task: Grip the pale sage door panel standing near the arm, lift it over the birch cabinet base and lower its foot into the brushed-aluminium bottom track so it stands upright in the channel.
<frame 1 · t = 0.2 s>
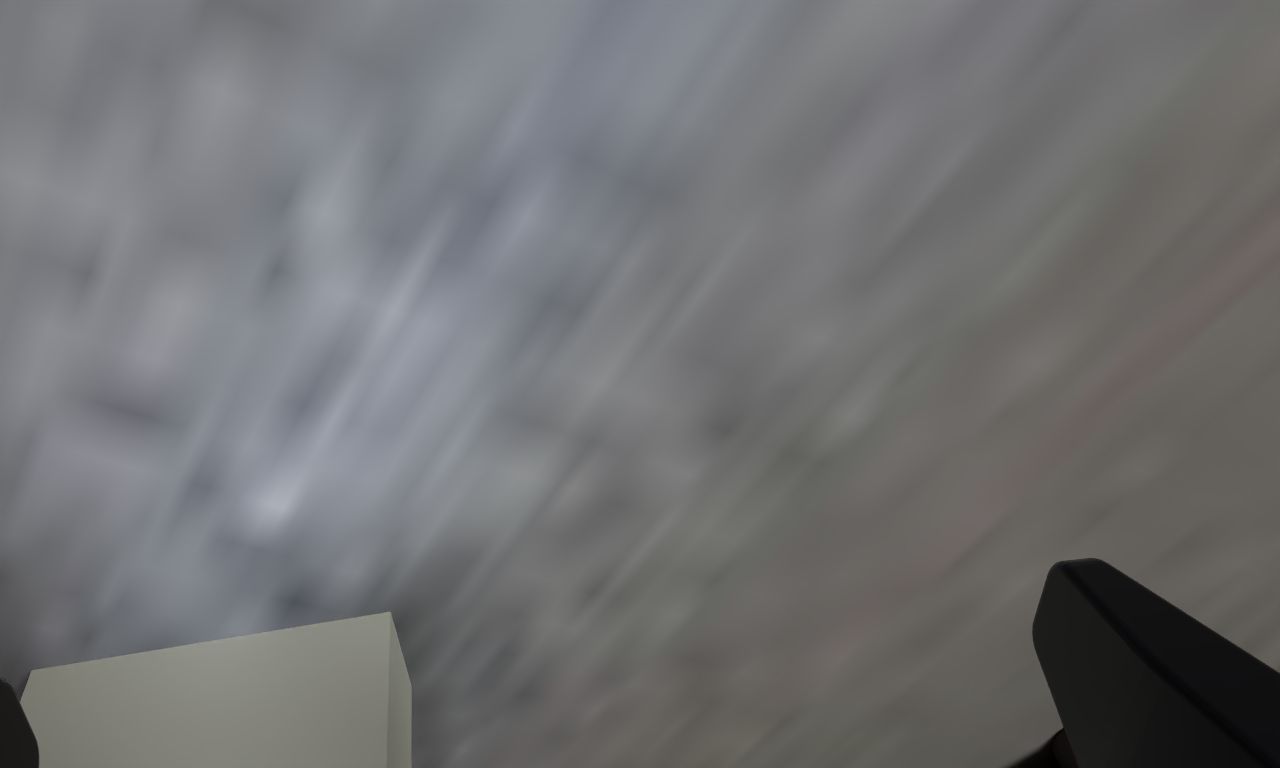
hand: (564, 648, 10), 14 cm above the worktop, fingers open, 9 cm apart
door panel: (230, 677, 29), on the worktop
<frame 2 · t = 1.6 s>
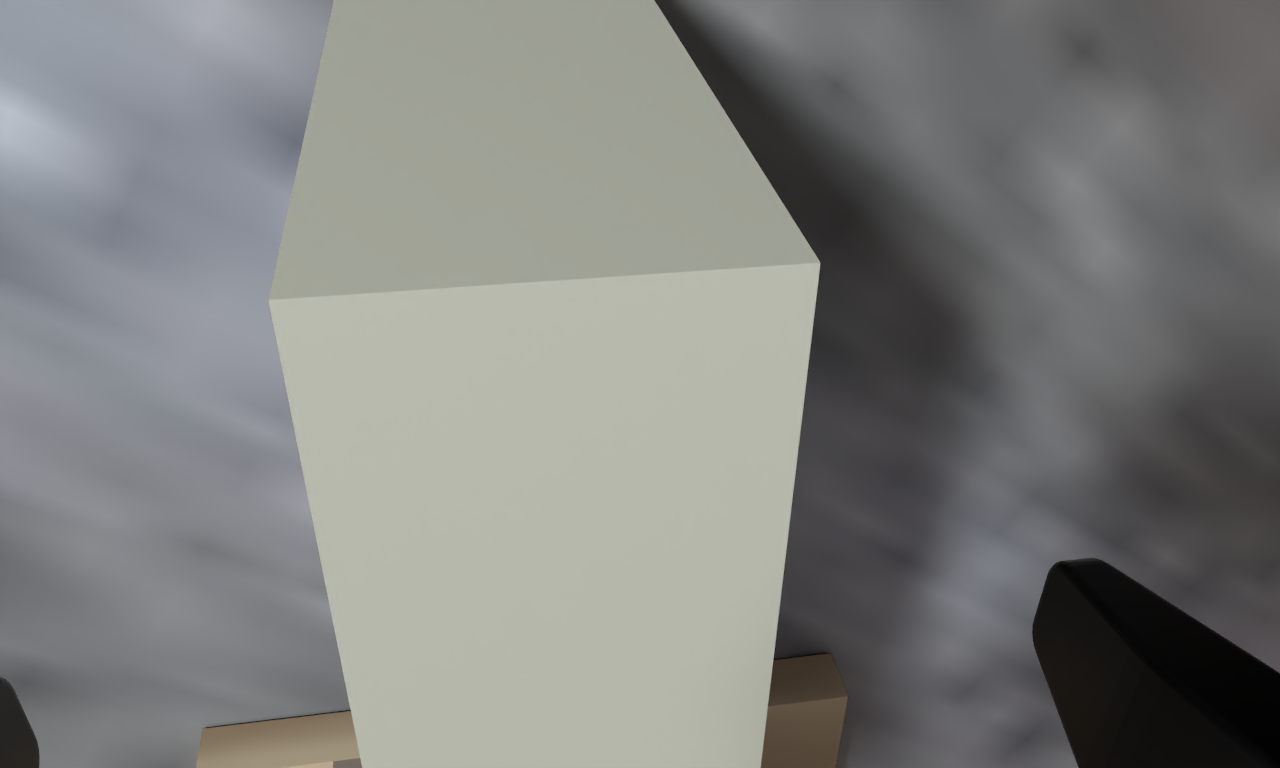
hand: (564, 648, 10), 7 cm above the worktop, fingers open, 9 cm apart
door panel: (504, 288, 15), on the worktop
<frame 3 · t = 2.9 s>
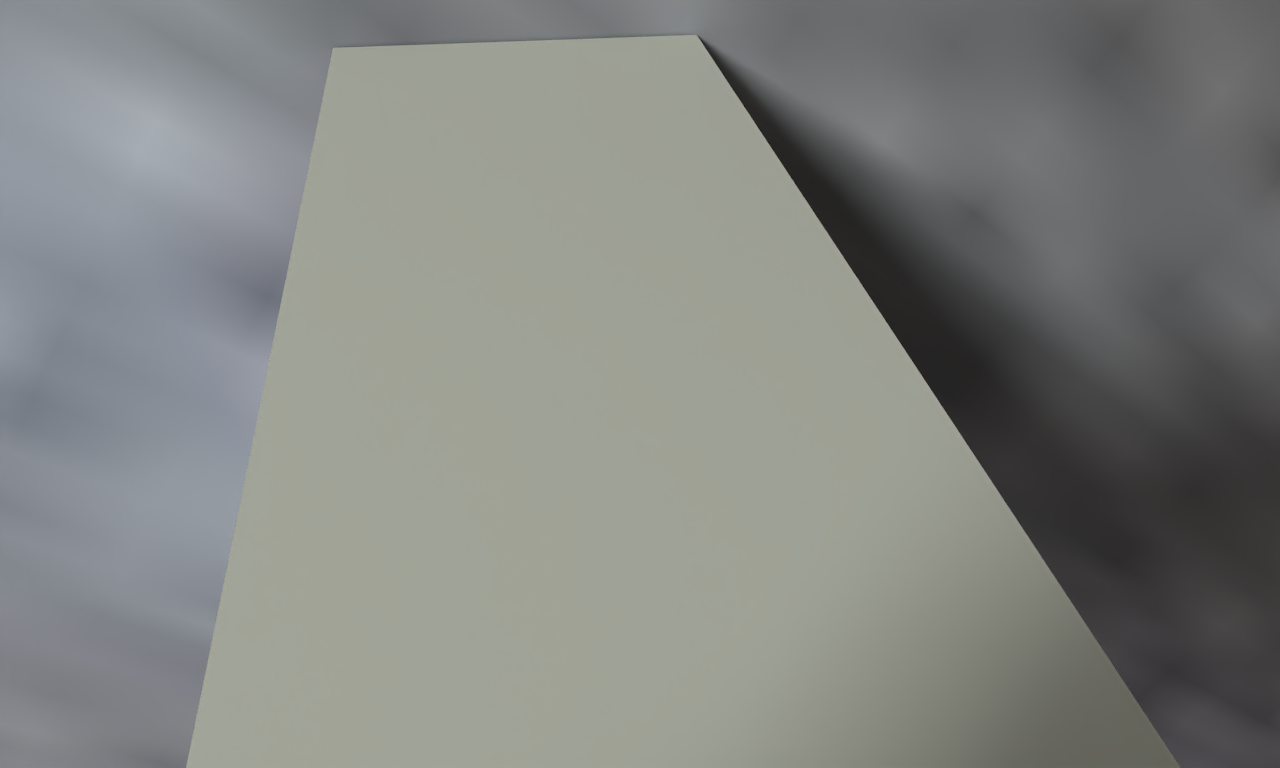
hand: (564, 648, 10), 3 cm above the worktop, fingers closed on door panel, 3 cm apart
door panel: (539, 466, 12), on the worktop, touching gripper
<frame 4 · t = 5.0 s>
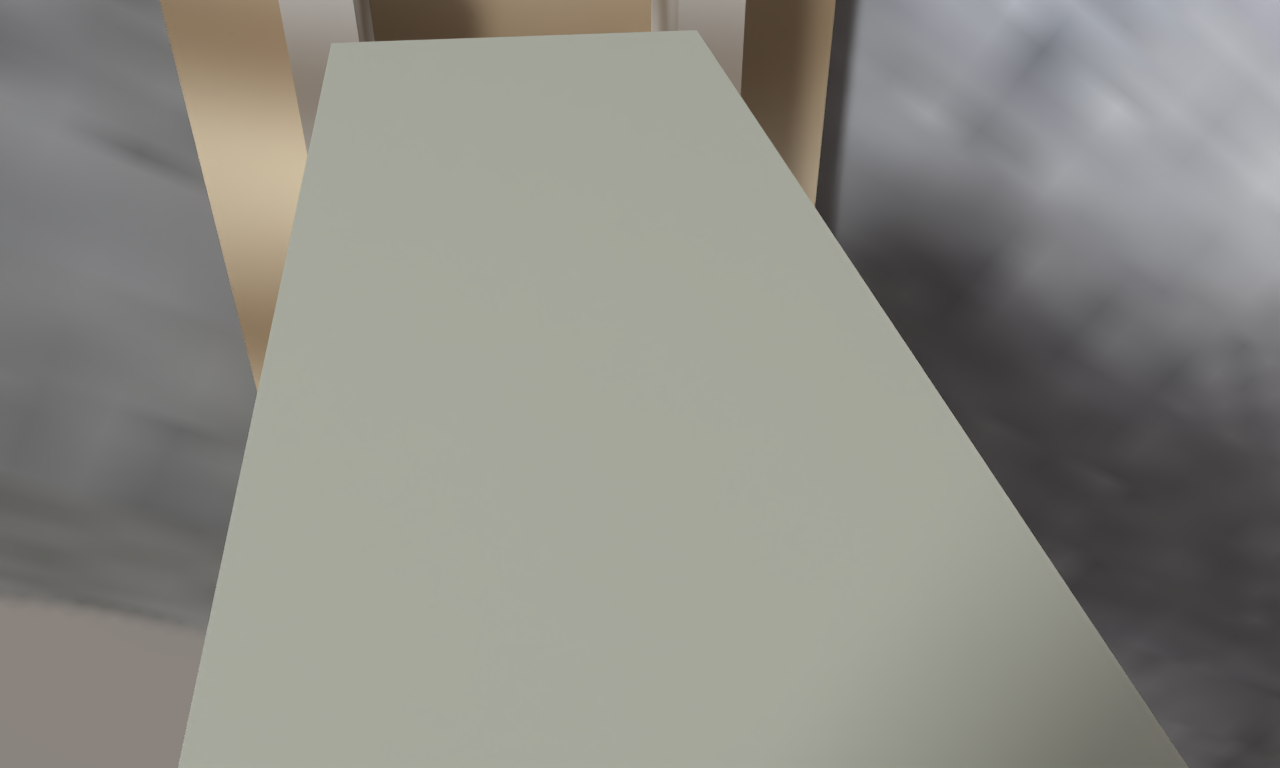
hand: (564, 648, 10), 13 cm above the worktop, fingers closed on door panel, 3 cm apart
track base: (532, 319, 23), on the worktop
door panel: (538, 464, 12), point 11 cm above the worktop, touching gripper
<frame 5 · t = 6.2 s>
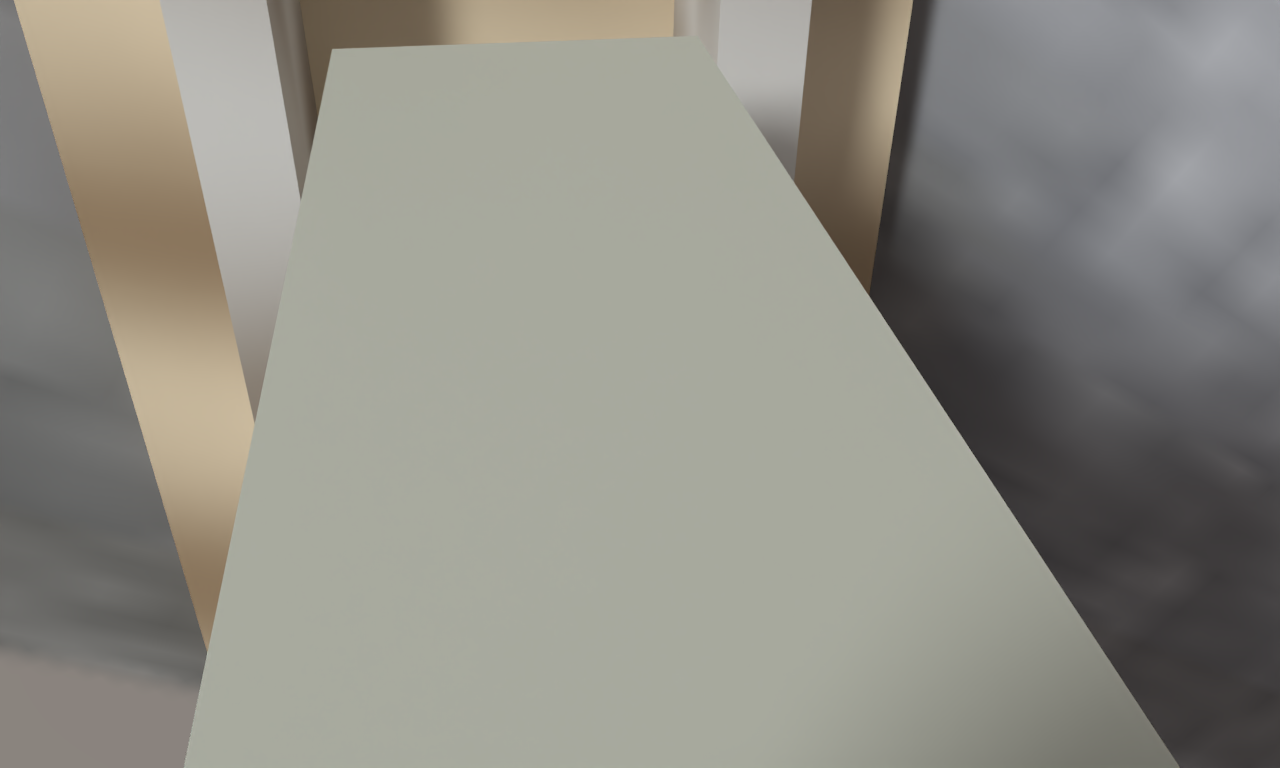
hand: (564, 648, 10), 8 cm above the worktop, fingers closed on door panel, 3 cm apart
track base: (503, 228, 17), on the worktop
door panel: (539, 468, 12), point 6 cm above the worktop, touching gripper
when the fingers open (4 cm above the worktop, at t = 7.2 s): door panel stays where it is, resting on track base.
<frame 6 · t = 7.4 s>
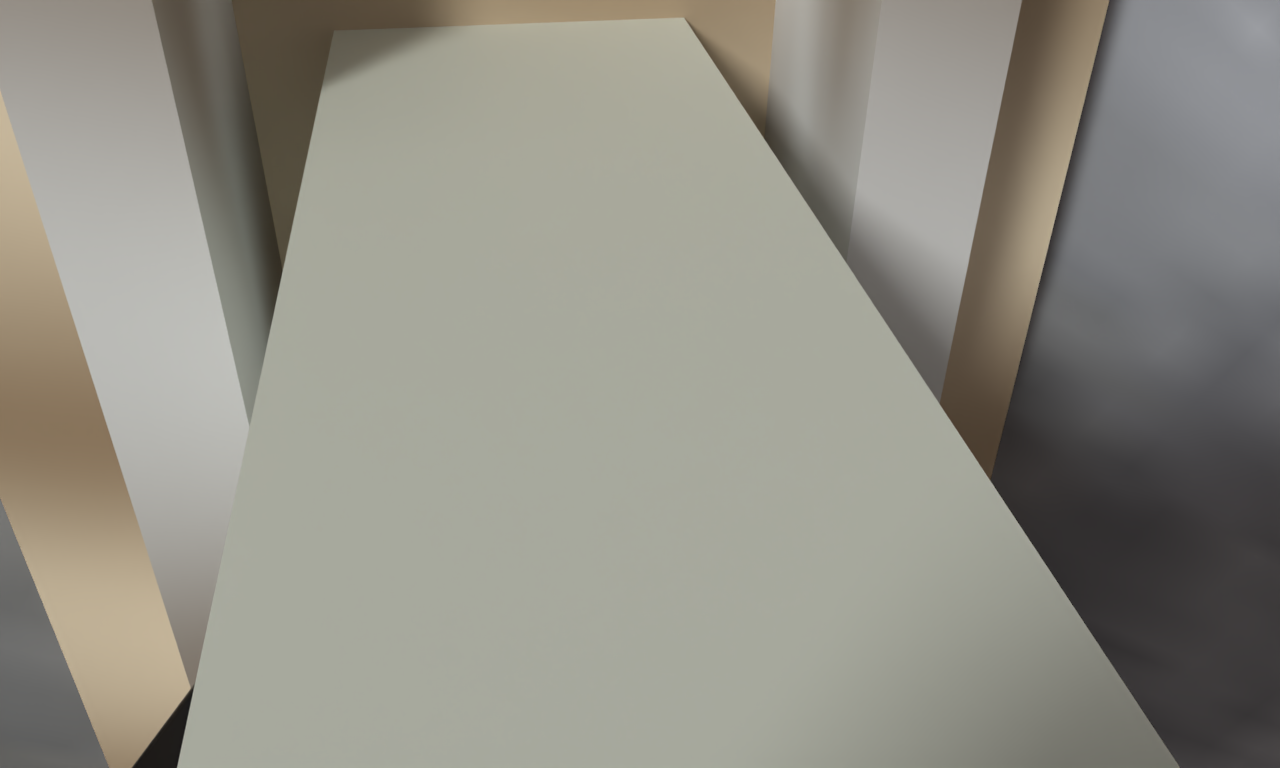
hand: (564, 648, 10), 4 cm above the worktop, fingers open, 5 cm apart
track base: (528, 392, 13), on the worktop
door panel: (535, 440, 12), point 1 cm above the worktop, touching track base
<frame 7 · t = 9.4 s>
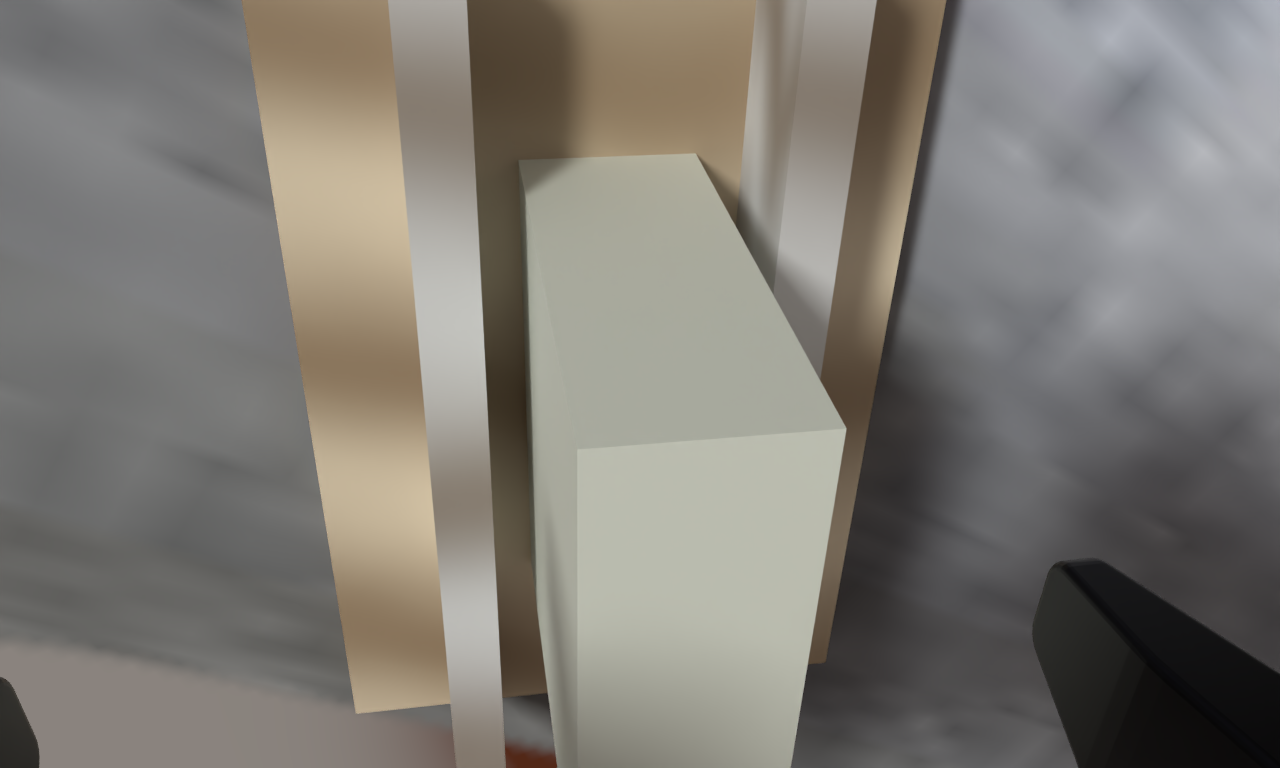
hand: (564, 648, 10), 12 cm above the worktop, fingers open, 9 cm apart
track base: (597, 355, 22), on the worktop
door panel: (604, 380, 21), point 1 cm above the worktop, touching track base
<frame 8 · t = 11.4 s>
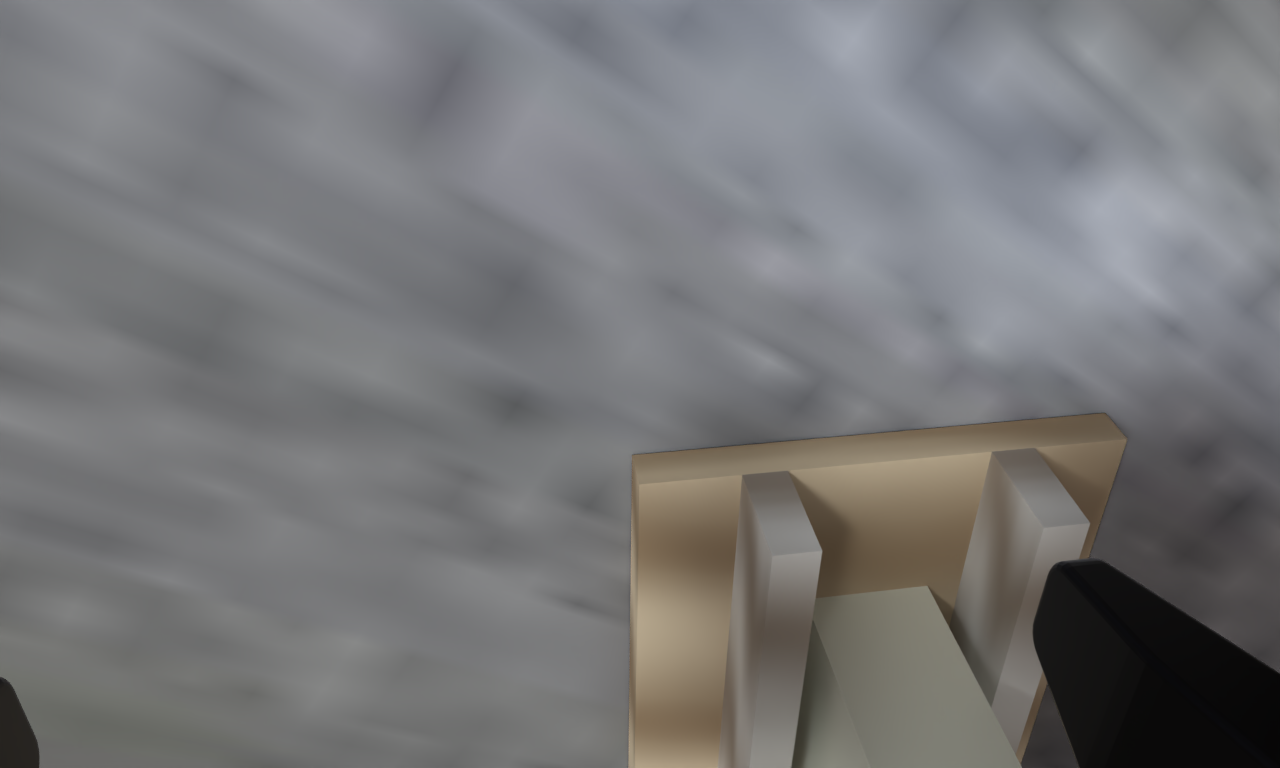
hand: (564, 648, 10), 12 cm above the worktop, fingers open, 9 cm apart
track base: (833, 688, 30), on the worktop
door panel: (845, 717, 29), point 1 cm above the worktop, touching track base
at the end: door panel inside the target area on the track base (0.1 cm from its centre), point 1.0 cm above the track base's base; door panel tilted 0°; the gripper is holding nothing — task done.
